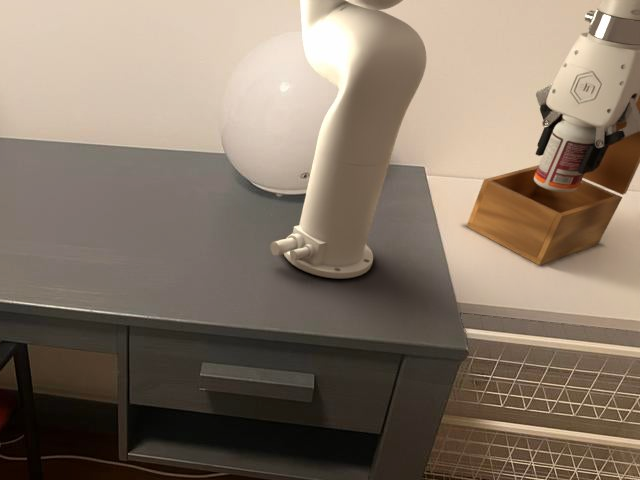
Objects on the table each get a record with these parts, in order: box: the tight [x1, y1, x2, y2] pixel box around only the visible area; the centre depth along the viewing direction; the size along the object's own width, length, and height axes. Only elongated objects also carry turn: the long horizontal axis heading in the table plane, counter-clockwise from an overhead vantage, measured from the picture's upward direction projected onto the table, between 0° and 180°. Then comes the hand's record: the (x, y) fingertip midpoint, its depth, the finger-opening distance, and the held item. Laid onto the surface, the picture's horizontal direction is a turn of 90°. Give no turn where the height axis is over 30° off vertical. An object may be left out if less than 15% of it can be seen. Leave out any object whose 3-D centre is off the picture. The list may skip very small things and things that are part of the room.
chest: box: [466, 164, 623, 266], centre depth 112 cm, size 15×13×8 cm
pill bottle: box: [534, 115, 596, 193], centre depth 106 cm, size 6×6×11 cm
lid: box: [563, 96, 640, 195], centre depth 108 cm, size 15×13×6 cm
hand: (564, 161), depth 107 cm, fingers closed on pill bottle, 6 cm apart
